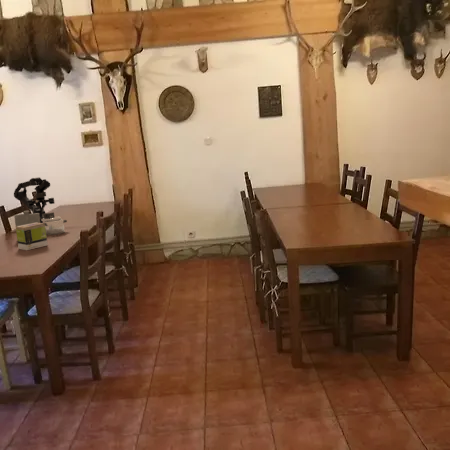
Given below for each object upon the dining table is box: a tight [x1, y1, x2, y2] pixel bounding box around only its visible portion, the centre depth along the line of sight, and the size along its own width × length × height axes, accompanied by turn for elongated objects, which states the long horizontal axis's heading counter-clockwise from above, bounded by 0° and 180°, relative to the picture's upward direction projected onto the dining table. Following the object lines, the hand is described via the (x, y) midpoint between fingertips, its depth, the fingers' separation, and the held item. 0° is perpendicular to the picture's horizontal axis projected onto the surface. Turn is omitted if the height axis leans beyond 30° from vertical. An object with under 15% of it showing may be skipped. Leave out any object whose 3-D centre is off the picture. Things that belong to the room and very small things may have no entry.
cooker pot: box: [43, 218, 68, 236], centre depth 376 cm, size 13×18×9 cm
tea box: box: [15, 222, 49, 251], centre depth 332 cm, size 15×10×15 cm, turn 141°
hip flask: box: [13, 210, 40, 242], centre depth 356 cm, size 16×4×20 cm, turn 104°
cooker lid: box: [41, 212, 62, 222], centre depth 379 cm, size 14×14×4 cm
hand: (41, 212), depth 386 cm, fingers closed
